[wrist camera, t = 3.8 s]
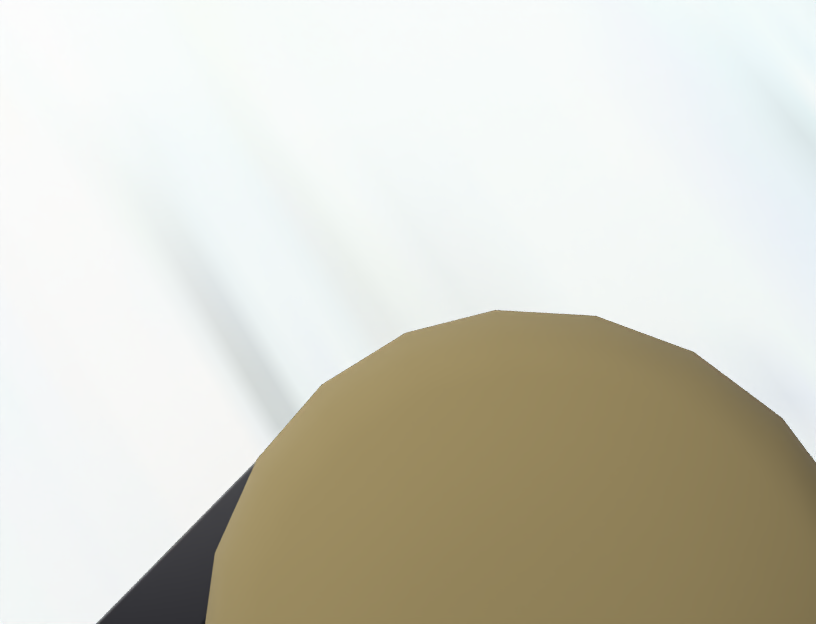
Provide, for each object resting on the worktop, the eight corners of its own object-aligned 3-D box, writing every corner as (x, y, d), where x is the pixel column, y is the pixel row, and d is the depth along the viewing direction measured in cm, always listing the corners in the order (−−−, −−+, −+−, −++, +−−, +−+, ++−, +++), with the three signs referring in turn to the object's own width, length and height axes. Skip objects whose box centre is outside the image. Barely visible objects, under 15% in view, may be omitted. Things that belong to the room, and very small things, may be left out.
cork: (678, 688, 14) (1297, 1381, 3) (371, 701, 14) (30, 1328, 4) (633, 379, 15) (957, 149, 5) (355, 402, 16) (75, 247, 5)
